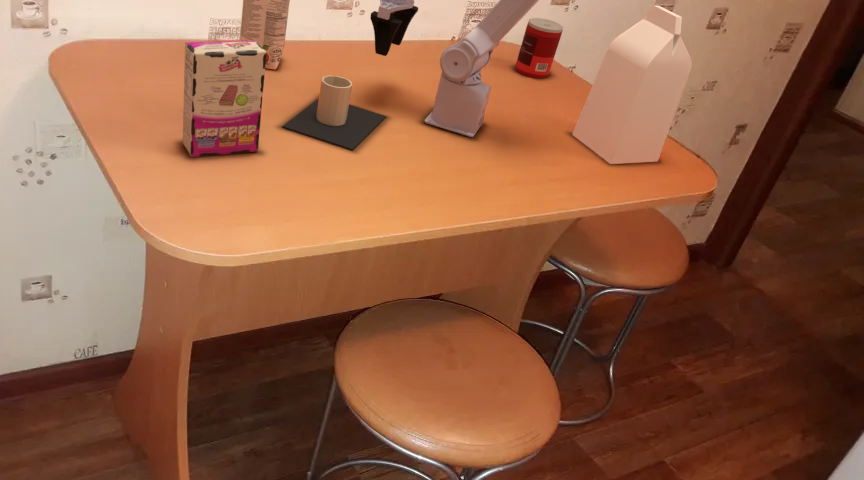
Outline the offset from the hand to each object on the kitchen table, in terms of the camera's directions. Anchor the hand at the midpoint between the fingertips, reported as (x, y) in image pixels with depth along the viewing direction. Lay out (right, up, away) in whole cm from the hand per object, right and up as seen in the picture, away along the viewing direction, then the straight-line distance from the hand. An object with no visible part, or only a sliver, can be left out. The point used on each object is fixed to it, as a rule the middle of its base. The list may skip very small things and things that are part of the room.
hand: (387, 48), depth 147 cm
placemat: (-10, -15, -8) cm, 20 cm away
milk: (+43, -18, +4) cm, 47 cm away
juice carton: (-25, 0, +10) cm, 27 cm away
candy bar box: (-28, -23, -23) cm, 42 cm away
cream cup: (-10, -15, -8) cm, 20 cm away
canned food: (+34, +4, +32) cm, 47 cm away
